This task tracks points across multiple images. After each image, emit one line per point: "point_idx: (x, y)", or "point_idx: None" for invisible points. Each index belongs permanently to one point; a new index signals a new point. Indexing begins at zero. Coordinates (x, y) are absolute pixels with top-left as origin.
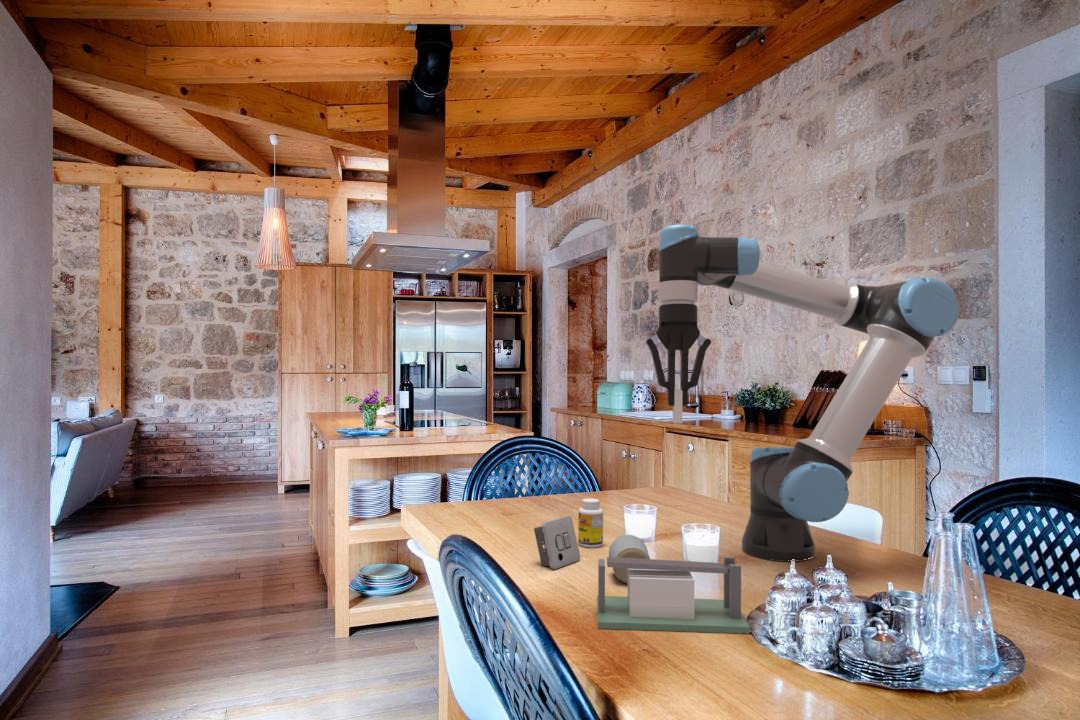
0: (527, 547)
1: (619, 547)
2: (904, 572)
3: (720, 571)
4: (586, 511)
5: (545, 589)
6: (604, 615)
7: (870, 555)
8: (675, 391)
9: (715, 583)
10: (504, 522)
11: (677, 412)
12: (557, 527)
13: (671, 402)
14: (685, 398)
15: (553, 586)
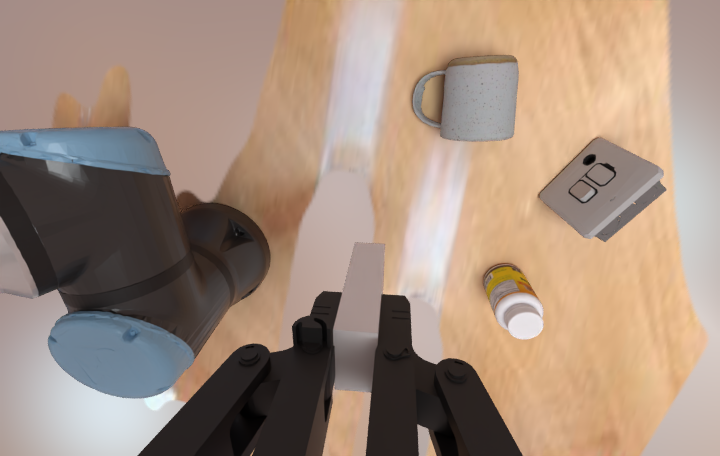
0: (615, 264)
1: (509, 82)
2: None
3: None
4: (532, 299)
5: (637, 24)
6: None
7: None
8: (374, 327)
9: (336, 86)
10: (624, 396)
11: (371, 264)
12: (617, 189)
13: (394, 305)
14: (322, 315)
15: (617, 44)
